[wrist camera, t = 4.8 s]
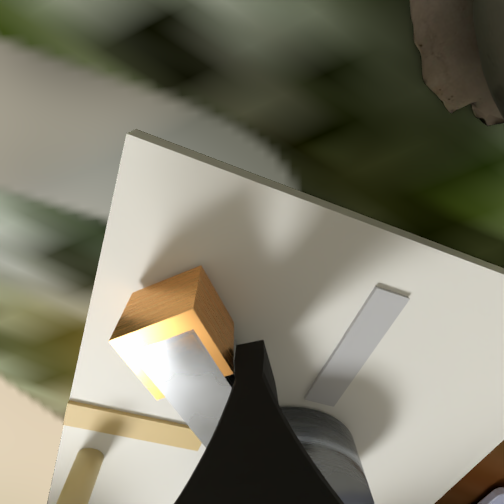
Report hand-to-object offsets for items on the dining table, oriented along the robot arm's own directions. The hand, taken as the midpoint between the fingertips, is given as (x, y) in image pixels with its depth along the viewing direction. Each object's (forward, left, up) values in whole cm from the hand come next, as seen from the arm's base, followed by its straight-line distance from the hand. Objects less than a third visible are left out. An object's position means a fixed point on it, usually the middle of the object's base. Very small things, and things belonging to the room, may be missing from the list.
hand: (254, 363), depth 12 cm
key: (-1, +4, -1) cm, 4 cm away
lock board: (-4, +6, -2) cm, 8 cm away
